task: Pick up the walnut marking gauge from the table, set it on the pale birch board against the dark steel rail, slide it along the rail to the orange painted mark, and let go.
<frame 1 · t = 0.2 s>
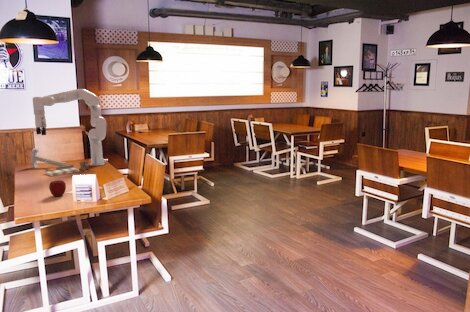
hand: (41, 134, 305), 31 cm above the table, tool pointing down, fingers open, 9 cm apart
marking gauge: (84, 169, 323), on the table
board: (62, 172, 310), on the table
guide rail: (59, 169, 313), resting on board
hammer: (49, 167, 332), on the table
apple: (58, 196, 243), on the table
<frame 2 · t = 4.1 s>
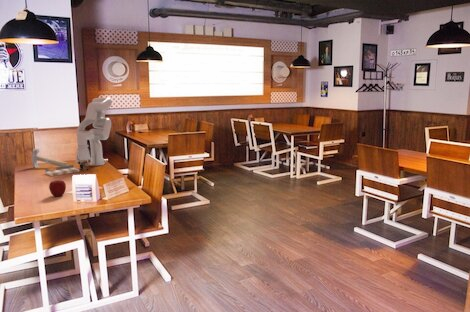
hand: (84, 168, 322), 1 cm above the table, tool pointing down, fingers closed on marking gauge, 3 cm apart
marking gauge: (84, 169, 322), on the table, touching gripper
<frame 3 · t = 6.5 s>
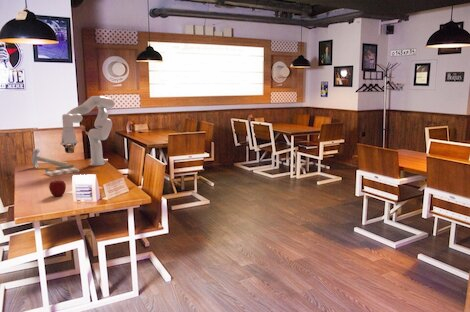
hand: (69, 151, 313), 16 cm above the table, tool pointing down, fingers closed on marking gauge, 4 cm apart
marking gauge: (70, 152, 313), point 15 cm above the table, touching gripper
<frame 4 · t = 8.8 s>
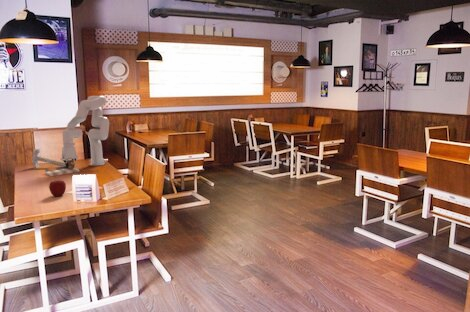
hand: (70, 167, 315), 3 cm above the table, tool pointing down, fingers closed on marking gauge, 4 cm apart
marking gauge: (70, 167, 315), point 3 cm above the table, touching gripper
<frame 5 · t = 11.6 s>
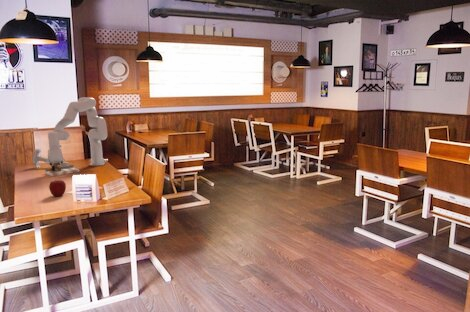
hand: (56, 170, 307), 3 cm above the table, tool pointing down, fingers closed on marking gauge, 4 cm apart
marking gauge: (56, 170, 307), point 2 cm above the table, touching gripper
when the fingers open (3 cm above the table, at t = 13.5 s): marking gauge stays where it is, resting on board.
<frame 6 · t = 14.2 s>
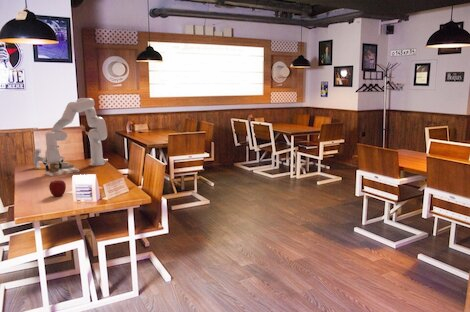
hand: (54, 169, 306), 4 cm above the table, tool pointing down, fingers open, 9 cm apart
marking gauge: (54, 171, 306), point 2 cm above the table, touching board
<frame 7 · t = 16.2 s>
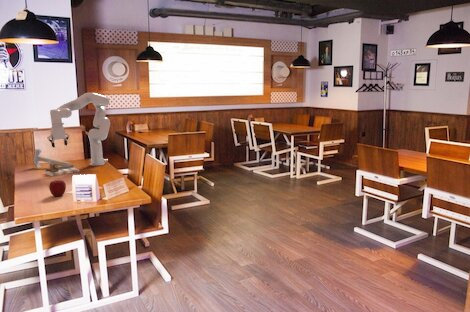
hand: (59, 146, 310), 21 cm above the table, tool pointing down, fingers open, 9 cm apart
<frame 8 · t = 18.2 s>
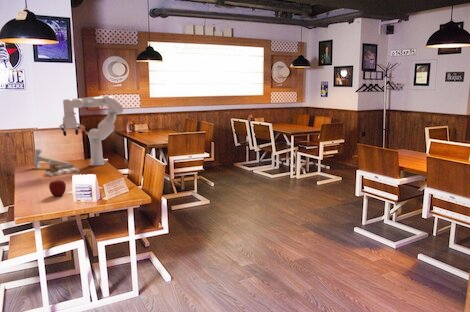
hand: (71, 135, 320), 28 cm above the table, tool pointing down, fingers open, 9 cm apart
at the end: marking gauge 0.1 cm from the target spot on the board, point 2.0 cm above the board's base; marking gauge tilted 0°; the gripper is holding nothing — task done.
